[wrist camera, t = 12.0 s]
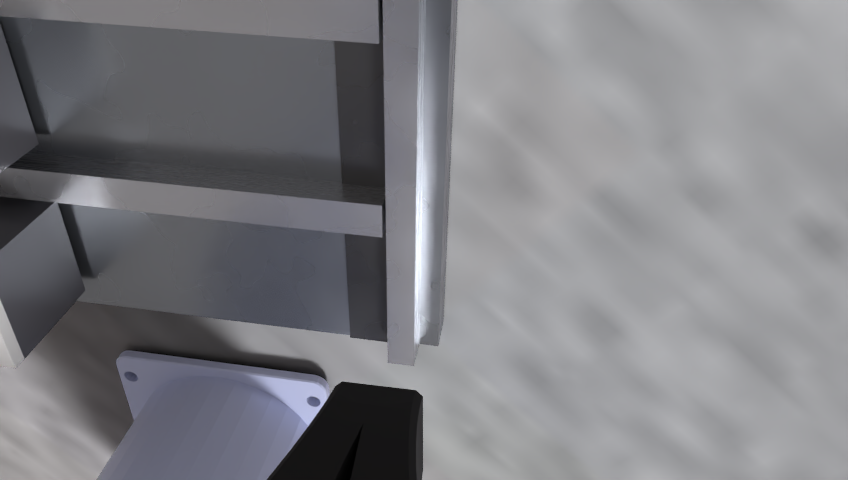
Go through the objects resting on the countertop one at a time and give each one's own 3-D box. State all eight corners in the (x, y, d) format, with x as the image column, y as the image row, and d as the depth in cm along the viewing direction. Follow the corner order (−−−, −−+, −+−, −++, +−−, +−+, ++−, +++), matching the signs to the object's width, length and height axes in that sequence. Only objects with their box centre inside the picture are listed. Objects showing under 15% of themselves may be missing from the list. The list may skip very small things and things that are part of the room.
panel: (443, 321, 23) (433, 368, 22) (-105, 255, 26) (-156, 292, 24) (470, -286, 14) (456, -292, 12) (-380, -299, 17) (-493, -306, 15)
